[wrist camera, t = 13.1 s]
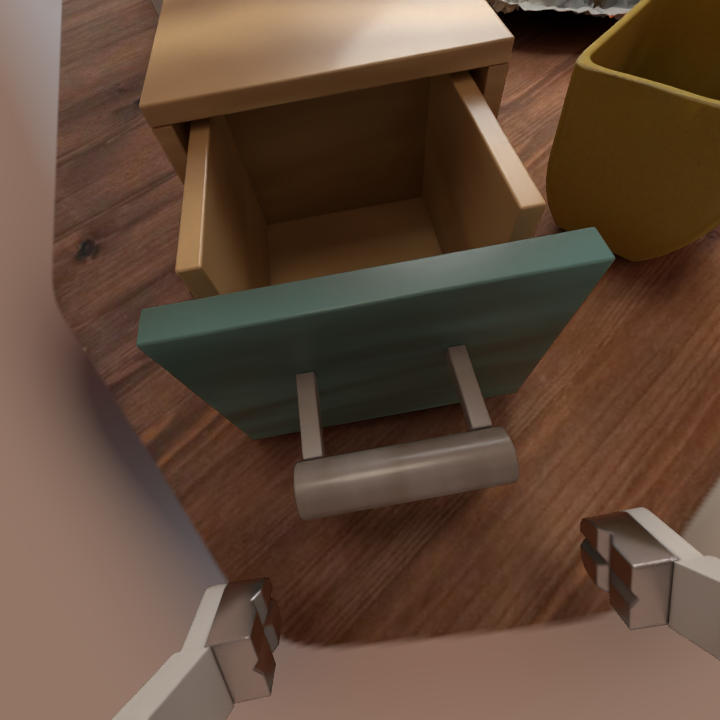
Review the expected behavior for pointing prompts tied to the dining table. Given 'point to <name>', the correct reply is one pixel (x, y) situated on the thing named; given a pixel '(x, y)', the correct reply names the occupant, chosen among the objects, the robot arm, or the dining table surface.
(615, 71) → the flower pot
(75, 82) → the dining table surface
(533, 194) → the drawer
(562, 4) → the food on plate
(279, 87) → the cabinet
